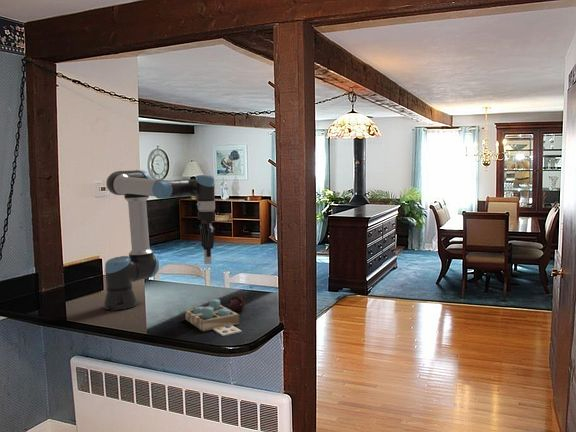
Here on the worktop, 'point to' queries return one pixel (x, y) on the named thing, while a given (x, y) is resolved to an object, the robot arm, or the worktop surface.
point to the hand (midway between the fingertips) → (207, 263)
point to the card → (226, 330)
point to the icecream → (237, 303)
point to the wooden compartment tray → (213, 322)
